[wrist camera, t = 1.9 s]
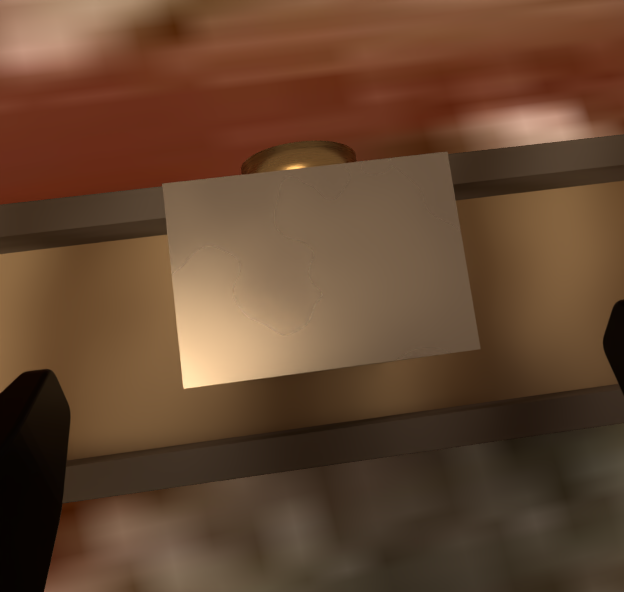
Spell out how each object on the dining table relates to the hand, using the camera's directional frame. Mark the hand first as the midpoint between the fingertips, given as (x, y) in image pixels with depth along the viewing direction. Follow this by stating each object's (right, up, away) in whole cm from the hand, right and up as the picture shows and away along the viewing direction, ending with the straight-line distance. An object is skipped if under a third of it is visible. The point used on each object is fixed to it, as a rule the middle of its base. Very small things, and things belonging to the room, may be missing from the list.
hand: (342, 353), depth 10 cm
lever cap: (-1, 0, +11) cm, 11 cm away
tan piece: (-1, 0, +12) cm, 12 cm away
